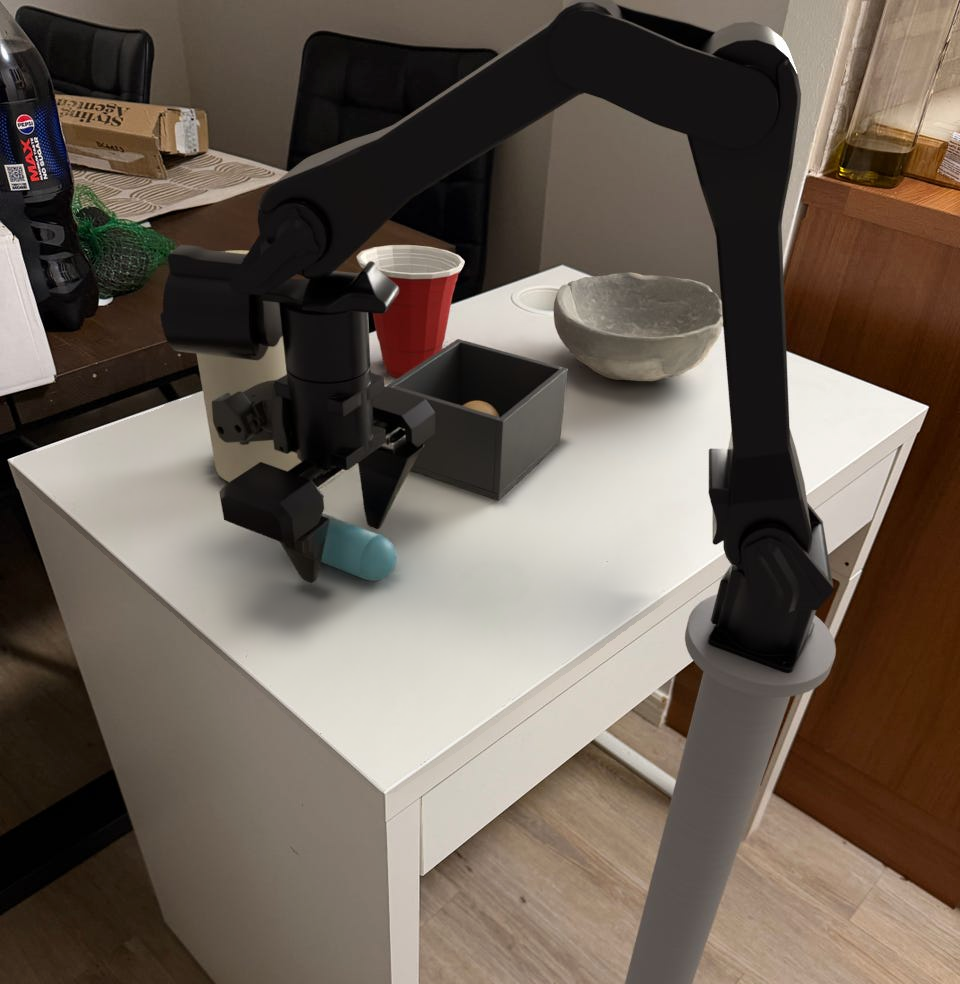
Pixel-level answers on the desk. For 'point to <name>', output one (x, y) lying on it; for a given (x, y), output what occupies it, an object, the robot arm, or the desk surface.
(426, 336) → the plastic cup
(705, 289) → the bowl
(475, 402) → the orange ball
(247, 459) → the travel mug
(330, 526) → the teal capsule pill
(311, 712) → the desk surface
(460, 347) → the wastebin
